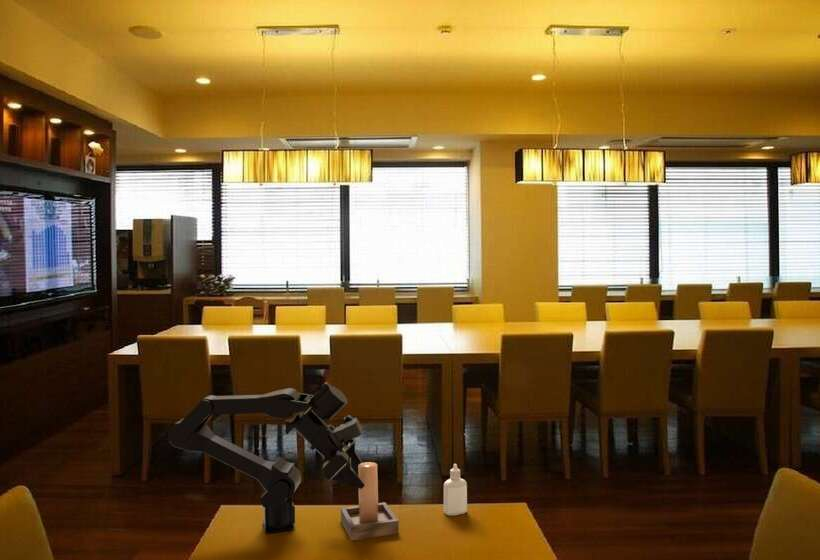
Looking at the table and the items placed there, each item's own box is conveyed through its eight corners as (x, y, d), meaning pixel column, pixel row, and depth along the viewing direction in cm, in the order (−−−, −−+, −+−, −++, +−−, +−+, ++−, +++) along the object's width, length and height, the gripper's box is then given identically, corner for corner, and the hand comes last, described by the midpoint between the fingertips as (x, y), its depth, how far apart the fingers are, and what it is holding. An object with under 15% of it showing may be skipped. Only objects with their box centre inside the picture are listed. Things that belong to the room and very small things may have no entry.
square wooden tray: (351, 540, 140) (351, 527, 140) (340, 520, 151) (340, 508, 151) (398, 533, 144) (398, 520, 144) (385, 514, 154) (385, 502, 154)
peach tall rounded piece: (361, 525, 145) (360, 469, 144) (357, 518, 149) (356, 463, 148) (380, 522, 146) (379, 467, 145) (375, 515, 150) (374, 461, 150)
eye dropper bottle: (466, 517, 153) (466, 467, 152) (443, 515, 153) (442, 466, 153) (467, 509, 157) (467, 461, 156) (444, 508, 158) (444, 460, 157)
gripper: (336, 419, 137) (387, 469, 137) (345, 398, 155) (390, 443, 156) (300, 455, 137) (351, 505, 138) (313, 430, 156) (358, 474, 156)
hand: (364, 479), depth 147 cm, fingers open, 9 cm apart
